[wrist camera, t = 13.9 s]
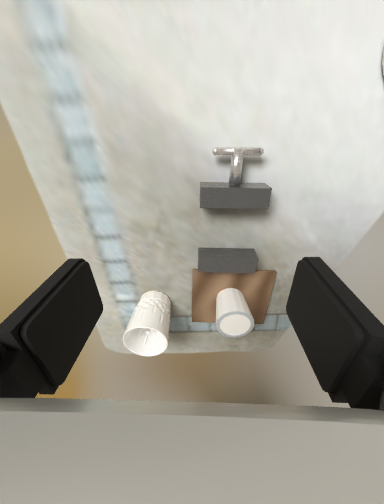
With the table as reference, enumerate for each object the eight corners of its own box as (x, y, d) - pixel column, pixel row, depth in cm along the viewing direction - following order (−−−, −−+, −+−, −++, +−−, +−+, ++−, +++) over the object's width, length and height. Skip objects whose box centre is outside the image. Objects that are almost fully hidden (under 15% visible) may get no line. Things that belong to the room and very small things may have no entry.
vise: (271, 147, 30) (279, 148, 27) (250, 262, 39) (255, 273, 36) (201, 146, 30) (201, 147, 27) (198, 261, 40) (198, 272, 37)
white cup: (173, 316, 47) (167, 357, 38) (138, 314, 47) (125, 355, 38) (173, 289, 43) (167, 328, 34) (135, 287, 43) (120, 325, 34)
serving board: (275, 270, 40) (276, 272, 40) (262, 321, 47) (263, 323, 47) (192, 268, 41) (192, 270, 40) (192, 319, 47) (192, 321, 47)
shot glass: (223, 280, 41) (227, 306, 35) (253, 292, 42) (262, 319, 36) (207, 304, 44) (209, 331, 38) (235, 314, 45) (241, 342, 39)
